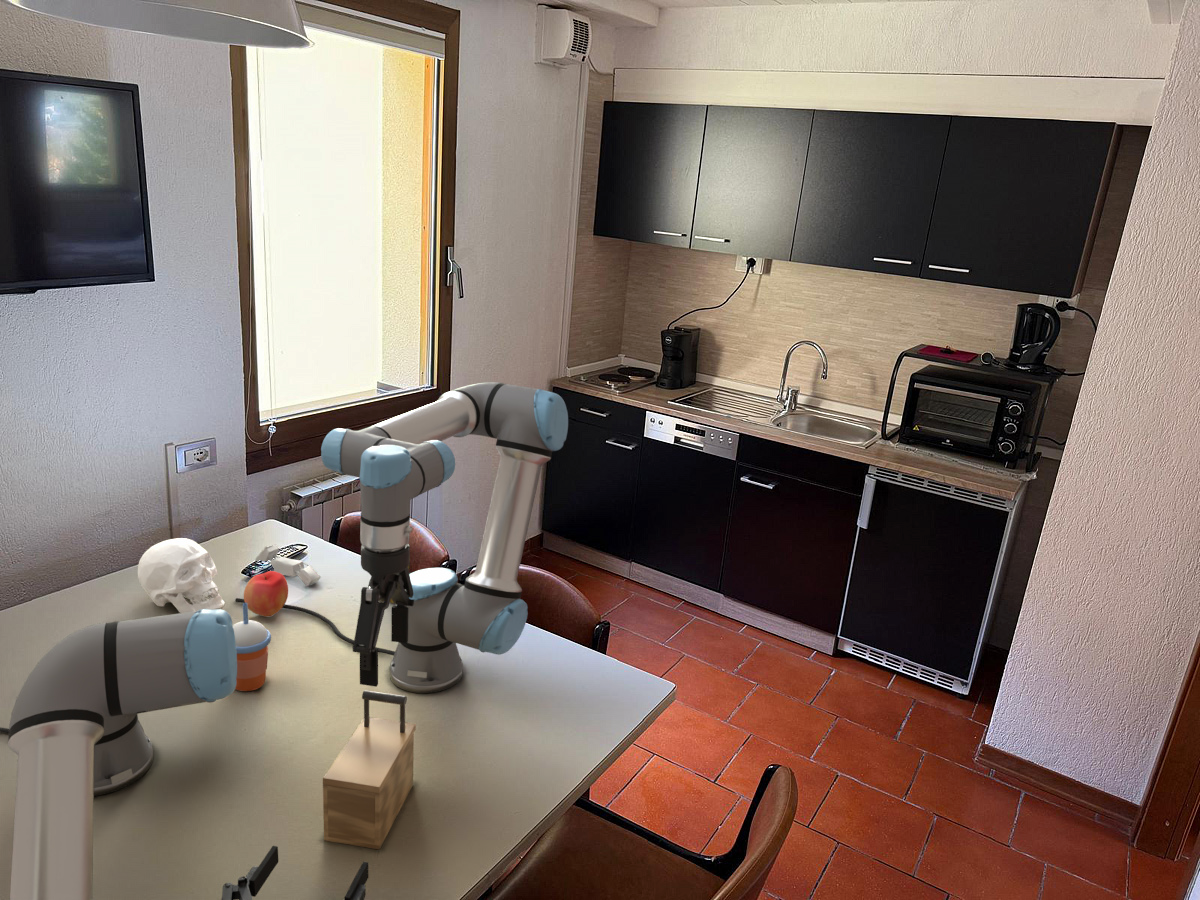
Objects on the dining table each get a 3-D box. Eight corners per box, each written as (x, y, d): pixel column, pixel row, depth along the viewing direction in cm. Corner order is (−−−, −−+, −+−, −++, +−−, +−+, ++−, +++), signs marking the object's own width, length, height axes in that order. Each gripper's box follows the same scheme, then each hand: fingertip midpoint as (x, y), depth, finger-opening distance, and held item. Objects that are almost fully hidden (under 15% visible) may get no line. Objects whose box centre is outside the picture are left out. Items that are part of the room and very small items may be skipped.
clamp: (253, 565, 223) (254, 542, 221) (265, 560, 226) (266, 537, 224) (309, 593, 215) (310, 569, 213) (320, 588, 218) (321, 564, 216)
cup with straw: (256, 699, 169) (252, 618, 164) (214, 691, 170) (209, 610, 165) (281, 675, 177) (278, 597, 172) (242, 667, 179) (238, 590, 174)
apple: (273, 600, 207) (272, 562, 204) (297, 613, 202) (296, 575, 199) (237, 614, 200) (234, 575, 197) (261, 628, 194) (259, 588, 191)
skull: (204, 625, 194) (201, 560, 189) (125, 605, 199) (121, 542, 195) (243, 602, 206) (242, 541, 202) (168, 584, 212) (165, 524, 207)
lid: (364, 721, 148) (364, 681, 146) (415, 729, 147) (416, 689, 145) (322, 784, 132) (321, 740, 130) (379, 793, 131) (379, 749, 129)
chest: (362, 776, 150) (362, 725, 147) (413, 784, 149) (413, 733, 146) (323, 840, 135) (322, 784, 132) (379, 849, 134) (379, 793, 131)
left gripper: (147, 997, 105) (239, 868, 125) (341, 1036, 102) (404, 897, 122) (142, 950, 103) (237, 826, 123) (340, 988, 100) (404, 854, 120)
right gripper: (378, 580, 122) (378, 708, 129) (433, 517, 146) (431, 628, 152) (328, 573, 123) (330, 701, 129) (391, 512, 147) (390, 622, 153)
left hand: (320, 861), depth 123 cm, fingers open, 13 cm apart
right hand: (385, 662), depth 141 cm, fingers open, 13 cm apart
